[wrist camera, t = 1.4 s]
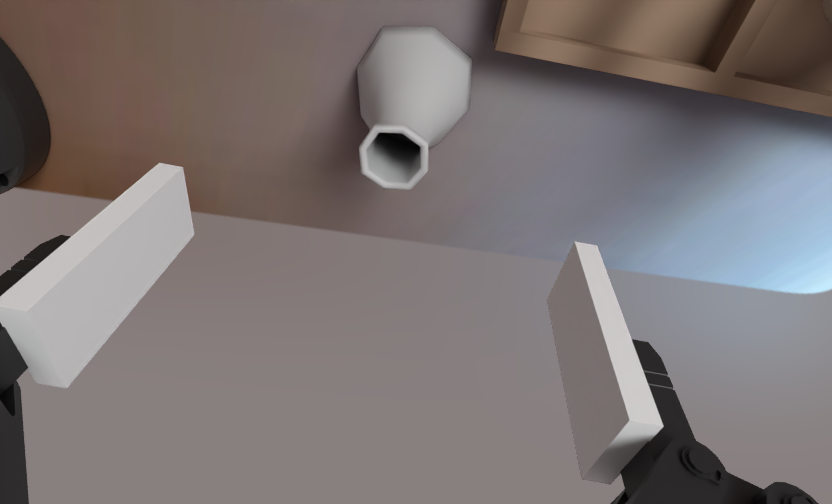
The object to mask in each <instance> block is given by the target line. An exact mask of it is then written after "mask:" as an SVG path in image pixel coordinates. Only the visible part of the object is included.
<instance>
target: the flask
mask: <svg viewBox="0 0 832 504" xmlns="http://www.w3.org/2000/svg"><path fill="white" fill-rule="evenodd" d="M471 75H472V59H471V58H470V57H468V56H467V55H466V54H465V53H464V52H463V51H461V50H460V49H459V48H458V47H457V46H455V45H454V44H453V43H452V42H451V41H450V40H448V39H447V38H446V37H445V36H444V35H442V34H441V33H440V32H439V31H438V30H437V29H435V28H434V27H392V26H383V28H382V29H381V31H380V32H379V34H378V35H377V37H376V39H375V40H374V42H373V43H372V45H371V46H370V48H369V49H368V51H367V53H366V54H365V56H364V57H363V59H362V60H361V62H360V64H359V65H358V67H357V76H358V88H359V101H360V113H361V116H362V118H363V120H364V121H365V123H366V124H367V126H368V127H369V130H370V132H369V133H368V135H367V136H366V137H365V139H364V140H363V141H362V143H361V144H360V146H359V156H360V167H361V174H362V175H364V176H365V177H367V178H368V179H370V180H371V181H373V182H374V183H376V184H377V185H379V186H380V187H381V188H383V189H393V190H412V188H413V187H414V186H415V185H416V184H417V183H418V182H419V180H420V179H421V178H422V177H423V176H424V175H425V173H426V172H427V171H428V148H429V147H432V146H434V145H436V144H438V143H440V142H441V141H442V140H443V139H444V137H445V136H446V135H447V134H448V133H449V132H450V130H451V129H452V128H453V127H454V126H455V124H456V123H457V122H458V121H459V120H460V119H461V117H462V116H463V115H464V114H465V113H466V112H467V110H468V109H469V104H470V89H471Z"/></svg>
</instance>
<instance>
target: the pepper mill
mask: <svg viewBox="0 0 832 504" xmlns="http://www.w3.org/2000/svg"><path fill="white" fill-rule="evenodd" d="M822 3H823V11H824V14H825V17H826V19H827V21H828V22H829V24H830V25H831V26H832V0H823V2H822Z"/></svg>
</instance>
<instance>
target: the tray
mask: <svg viewBox="0 0 832 504" xmlns="http://www.w3.org/2000/svg"><path fill="white" fill-rule="evenodd" d="M822 2H823V0H503V2H502V6H501V10H500V14H499V18H498V22H497V26H496V30H495V34H494V38H493V42H494V47H495V50H497V51H502V52H507V53H512V54H517V55H522V56H527V57H532V58H537V59H542V60H547V61H552V62H557V63H562V64H567V65H572V66H577V67H582V68H587V69H592V70H597V71H602V72H607V73H612V74H618V75H623V76H628V77H633V78H638V79H643V80H648V81H653V82H658V83H663V84H668V85H673V86H678V87H683V88H688V89H693V90H698V91H703V92H708V93H713V94H718V95H723V96H728V97H733V98H738V99H743V100H748V101H753V102H758V103H763V104H768V105H773V106H778V107H783V108H788V109H793V110H798V111H803V112H808V113H813V114H818V115H823V116H828V117H832V26H831V25H830V24H829V22H828V21H827V19H826V17H825V14H824V11H823V3H822Z"/></svg>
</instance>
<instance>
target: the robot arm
mask: <svg viewBox="0 0 832 504" xmlns="http://www.w3.org/2000/svg"><path fill="white" fill-rule="evenodd" d="M49 144H50V133H49V125H48V120H47V116H46V112H45V109H44V106H43V104H42V101H41V98H40V96H39V94H38V92H37V90H36V88H35V86H34V84H33V82H32V80H31V79H30V77H29V75H28V74H27V72H26V70H25V69H24V67H23V66H22V64H21V63H20V62H19V60H18V59H17V58H16V56H15V55H14V53H13V52H12V51H11V50H10V48H9V47H8V46H7V45H6V44H5V42H4V41H3V40H2V39H1V38H0V194H2V193H4V192H6V191H8V190H10V189H12V188H13V187H15V186H17V185H18V184H20V183H21V182H23V181H25V180H26V179H28V178H29V177H31V176H33V175H34V174H35V173H36V172H37V171H38V170H39V169H40V168H41V167H42V165H43V164H44V162H45V160H46V157H47V155H48V150H49ZM193 236H194V229H193V223H192V218H191V212H190V206H189V200H188V194H187V188H186V183H185V177H184V171H183V167H179V166H174V165H169V164H163V163H159V164H157V165H156V166H155V167H154V168H153V169H151V170H150V171H149V172H148V173H147V174H145V175H144V176H143V177H142V178H141V179H140V180H138V181H137V182H136V183H135V184H134V185H132V186H131V187H130V188H129V189H128V190H126V191H125V192H124V193H123V194H122V195H120V196H119V197H118V198H117V199H116V200H115V201H113V202H112V203H111V204H110V205H109V206H107V207H106V208H105V209H104V210H103V211H102V212H100V213H99V214H98V215H97V216H95V217H94V218H93V219H92V220H91V221H89V222H88V223H87V224H86V225H85V226H84V227H82V228H81V229H80V230H79V231H78V232H76V233H75V234H74V235H73V236H72V237H70V236H64V235H60V236H58V237H55V238H53V239H51V240H49V241H47V242H45V243H42V244H40V245H39V246H38V247H36V248H35V249H34V250H32V251H31V252H30V253H29V254H27V255H26V256H25V257H24V260H20V261H19V262H18V263H16V264H15V265H14V266H13V267H11V270H7V271H6V272H5V273H4V274H2V275H1V276H0V504H29V502H28V486H27V473H26V459H25V445H24V431H23V417H22V404H21V390H20V387H19V385H18V382H17V381H16V380H17V379H18V378H19V377H20V375H21V374H23V372H24V371H25V370H26V369H28V370H29V372H30V374H31V376H32V377H33V379H34V381H35V382H36V383H38V384H44V385H50V386H55V387H61V388H68V387H69V385H70V384H71V383H72V382H73V380H74V379H75V378H76V377H77V376H78V374H79V373H80V372H81V371H82V370H83V368H84V367H85V366H86V365H87V363H88V362H89V361H90V360H91V359H92V358H93V356H94V355H95V354H96V353H97V352H98V350H99V349H100V348H101V347H102V346H103V344H104V343H105V342H106V340H107V339H108V338H109V337H110V336H111V335H112V333H113V332H114V331H115V330H116V328H117V327H118V326H119V325H120V324H121V323H122V321H123V320H124V319H125V318H126V317H127V315H128V314H129V313H130V312H131V310H132V309H133V308H134V307H135V306H136V304H137V303H138V302H139V301H140V300H141V298H142V297H143V296H144V295H145V294H146V292H147V291H148V290H149V289H150V288H151V286H152V285H153V284H154V283H155V282H156V280H157V279H158V278H159V277H160V276H161V274H162V273H163V272H164V271H165V269H166V268H167V267H168V266H169V265H170V263H171V262H172V261H173V260H174V259H175V257H176V256H177V255H178V254H179V253H180V251H181V250H182V249H183V248H184V246H185V245H186V244H187V243H188V242H189V240H190V239H191V238H192V237H193ZM547 304H548V309H549V314H550V319H551V324H552V329H553V334H554V340H555V345H556V350H557V355H558V361H559V365H560V371H561V376H562V381H563V386H564V392H565V397H566V402H567V407H568V413H569V418H570V423H571V428H572V433H573V438H574V444H575V449H576V454H577V459H578V464H579V470H580V475H581V479H582V480H589V481H594V482H600V483H605V484H611V483H612V482H613V481H614V480H615V479H616V478H617V477H618V476H619V475H620V474H621V475H622V479H623V483H624V486H625V489H624V491H622V493H621V494H620V495H619V496H618V497H617V498H616V499H615V500H614V501H613V502H612V503H611V504H818V503H817V502H816V501H815V500H814V499H813V498H812V497H811V496H809V495H808V494H807V493H805V492H804V491H802V490H801V489H799V488H798V487H796V486H793V485H791V484H788V483H785V482H774V483H773V484H771V485H769V486H768V487H767V488H765V489H761V488H759V487H757V486H755V485H753V484H751V483H749V482H747V481H744V480H742V479H740V478H738V477H736V476H734V475H732V474H730V473H728V472H727V471H726V470H725V467H724V466H723V464H722V463H721V462H720V460H719V459H718V457H717V456H716V455H715V454H714V453H713V452H712V451H710V450H709V449H708V448H707V447H706V446H704V445H702V444H701V443H699V442H697V441H696V440H695V438H694V435H693V433H692V430H691V428H690V426H689V423H688V421H687V419H686V416H685V414H684V411H683V409H682V407H681V405H680V402H679V400H678V397H677V395H676V392H675V391H674V390H673V385H672V383H671V380H670V378H669V377H667V375H668V373H667V371H666V368H665V366H664V364H663V361H662V359H661V357H660V356H659V355H658V354H657V352H656V351H655V350H654V349H653V348H652V346H651V345H650V344H649V343H648V342H644V341H638V340H633V339H631V337H630V334H629V331H628V328H627V326H626V323H625V320H624V318H623V315H622V312H621V310H620V307H619V304H618V301H617V299H616V296H615V293H614V291H613V288H612V285H611V282H610V280H609V277H608V274H607V271H606V269H605V266H604V263H603V261H602V258H601V255H600V252H599V250H598V247H597V246H596V245H590V244H585V243H580V242H574V244H573V246H572V248H571V250H570V252H569V255H568V257H567V259H566V261H565V263H564V265H563V267H562V269H561V271H560V274H559V276H558V278H557V280H556V282H555V284H554V286H553V288H552V290H551V293H550V295H549V297H548V299H547Z"/></svg>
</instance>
